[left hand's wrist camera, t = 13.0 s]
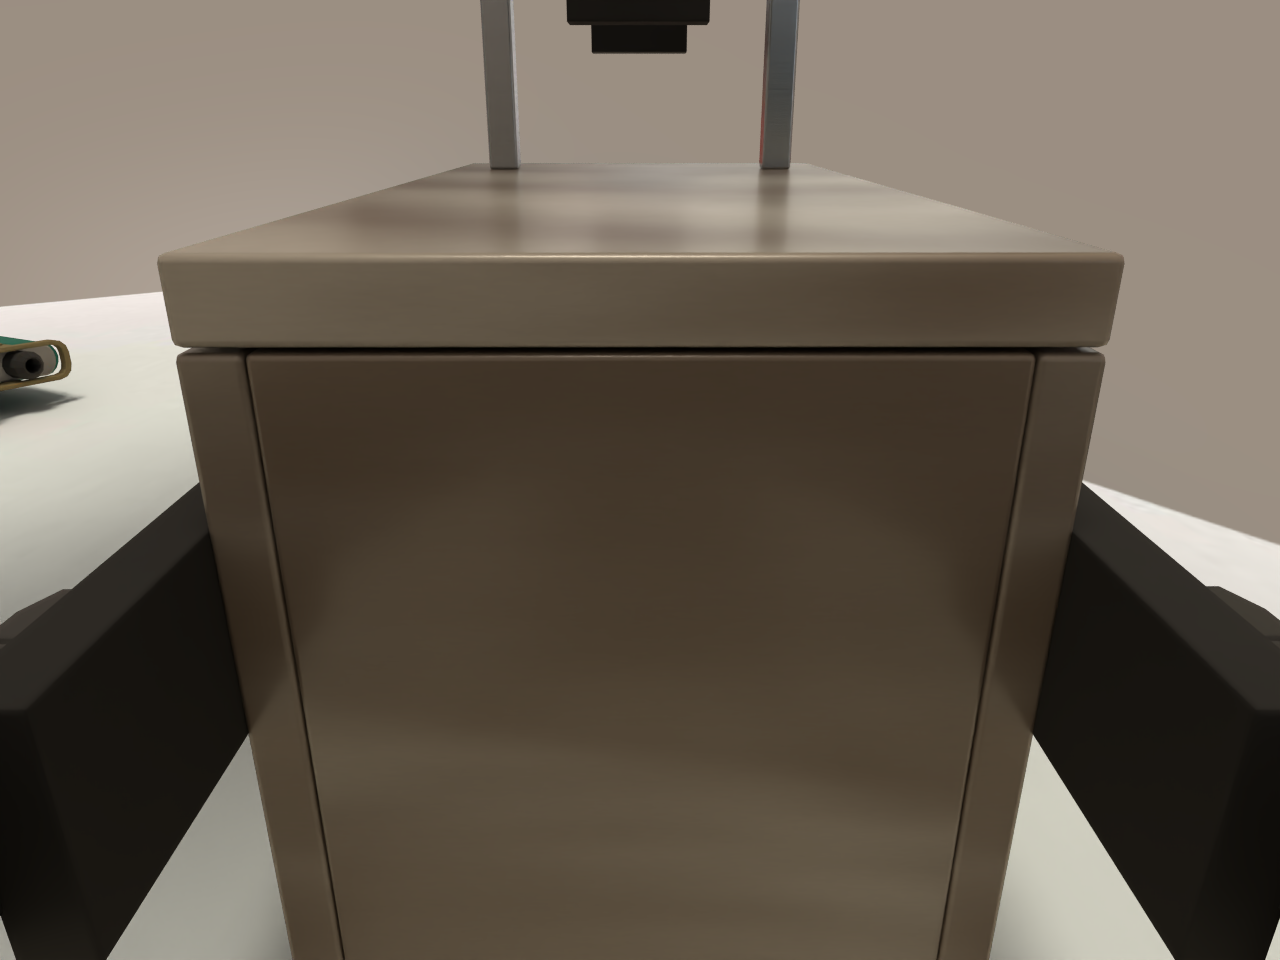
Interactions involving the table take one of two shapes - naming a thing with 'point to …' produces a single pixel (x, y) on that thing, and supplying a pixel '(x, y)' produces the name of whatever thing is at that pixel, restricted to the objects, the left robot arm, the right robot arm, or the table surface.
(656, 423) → the chest
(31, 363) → the spray gun
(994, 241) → the lid
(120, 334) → the table surface
